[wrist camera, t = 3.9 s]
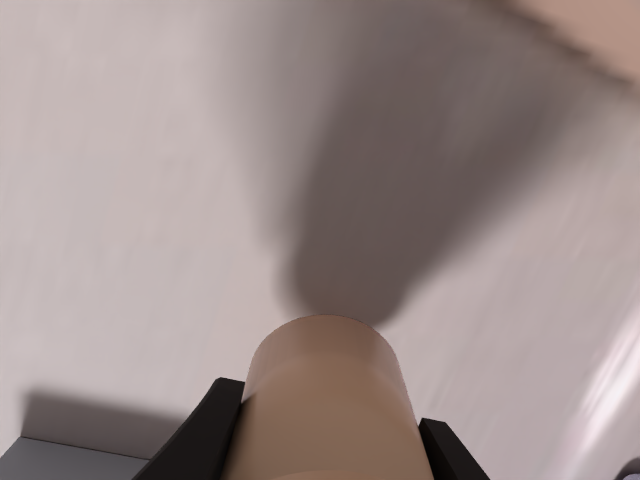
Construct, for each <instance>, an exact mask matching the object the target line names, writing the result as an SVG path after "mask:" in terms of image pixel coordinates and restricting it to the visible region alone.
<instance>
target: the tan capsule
mask: <svg viewBox="0 0 640 480" xmlns="http://www.w3.org/2000/svg"><path fill="white" fill-rule="evenodd" d="M220 480H434V477H433V474H432V471H431V468H430V464H429V461H428V458H427V455H426V451H425V448H424V445H423V441H422V438H421V435H420V432H419V428H418V425H417V422H416V419H415V415H414V412H413V409H412V405H411V402H410V399H409V396H408V392H407V389H406V386H405V383H404V379H403V376H402V373H401V369H400V366H399V363H398V360H397V358H396V355H395V353H394V351H393V349H392V348H391V346H390V345H389V344H388V342H387V341H386V340H385V339H384V338H383V337H382V336H381V335H380V334H379V333H378V332H376V331H375V330H374V329H372V328H371V327H369V326H367V325H366V324H364V323H362V322H359V321H357V320H354V319H351V318H348V317H344V316H337V315H311V316H306V317H302V318H299V319H296V320H293V321H290V322H288V323H286V324H284V325H282V326H280V327H279V328H277V329H276V330H274V331H273V332H272V333H271V334H269V335H268V336H267V337H266V338H265V339H264V340H263V342H262V343H261V344H260V345H259V347H258V348H257V350H256V352H255V354H254V356H253V358H252V361H251V365H250V368H249V372H248V376H247V379H246V383H245V387H244V391H243V396H242V400H241V405H240V408H239V412H238V416H237V420H236V423H235V427H234V431H233V434H232V438H231V441H230V444H229V447H228V451H227V454H226V458H225V461H224V465H223V469H222V473H221V476H220Z"/></svg>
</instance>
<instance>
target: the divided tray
mask: <svg viewBox="0 0 640 480" xmlns="http://www.w3.org/2000/svg"><path fill="white" fill-rule="evenodd" d="M149 461H150V460H145V459H139V458H134V457H128V456H122V455H117V454H111V453H106V452H100V451H95V450H89V449H83V448H78V447H72V446H67V445H61V444H56V443H50V442H44V441H39V440H33V439H28V438H22V437H19V438H18V439H17V440H16V441H15V442H14V444H13V445H12V446H11V447H10V448H9V449H8V450H7V451H6V452H5V454H4V455H3V456H2V457H1V458H0V480H131V479H132V478H133V477H134V476H135V475H136V474H137V473H138V472H139V471H140V470H141V469H142V468H143V467H144V466H145V465H146V464H147V463H148V462H149Z"/></svg>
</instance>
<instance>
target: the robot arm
mask: <svg viewBox="0 0 640 480" xmlns="http://www.w3.org/2000/svg"><path fill="white" fill-rule="evenodd" d="M244 387H245V382H242V381H237V380H232V379H227V378H222V377H220V378H218V379H216V380H215V381H214V383H213V384H212V386H211V388H210V389H209V391H208V392H207V394H206V395H205V396H204V398H203V399H202V400H201V402H200V403H199V404H198V406H197V407H196V408H195V410H194V411H193V412H192V413H191V415H190V416H189V417H188V418H187V420H186V421H185V422H184V423H183V424H182V425H181V426H180V428H179V429H178V430H177V431H176V432H175V433H174V435H173V436H172V437H171V438H170V439H169V440H168V442H167V443H166V444H165V445H164V446H163V447H162V448H161V449H160V450H159V451H158V452H157V453H156V454H155V456H154V457H153V458H152V459H151V460H150V461H149V462H148V463H147V464H146V465H145V466H144V467H143V468H142V469H141V470H140V471H139V472H138V473H137V474H136V475H135V476H134V477H133V478H132V479H131V480H220V476H221V473H222V469H223V465H224V461H225V458H226V454H227V451H228V447H229V444H230V441H231V438H232V434H233V431H234V427H235V423H236V420H237V416H238V412H239V408H240V405H241V400H242V396H243V391H244ZM418 428H419V432H420V435H421V438H422V441H423V445H424V448H425V451H426V455H427V458H428V461H429V464H430V468H431V471H432V474H433V477H434V480H490V479H489V477H488V476H487V475H486V473H485V472H484V471H483V470H482V468H481V467H480V466H479V464H478V463H477V462H476V460H475V459H474V458H473V457H472V455H471V454H470V453H469V451H468V450H467V449H466V447H465V446H464V445H463V444H462V442H461V441H460V440H459V438H458V437H457V436H456V435H455V433H454V432H453V431H452V430H451V428H450V427H449V426H448V425H447V423H446V422H442V421H437V420H432V419H427V418H422V419H421V422H420V424H419V426H418ZM623 480H640V474H631V475H628V476H626V477H625V478H624V479H623Z"/></svg>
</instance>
